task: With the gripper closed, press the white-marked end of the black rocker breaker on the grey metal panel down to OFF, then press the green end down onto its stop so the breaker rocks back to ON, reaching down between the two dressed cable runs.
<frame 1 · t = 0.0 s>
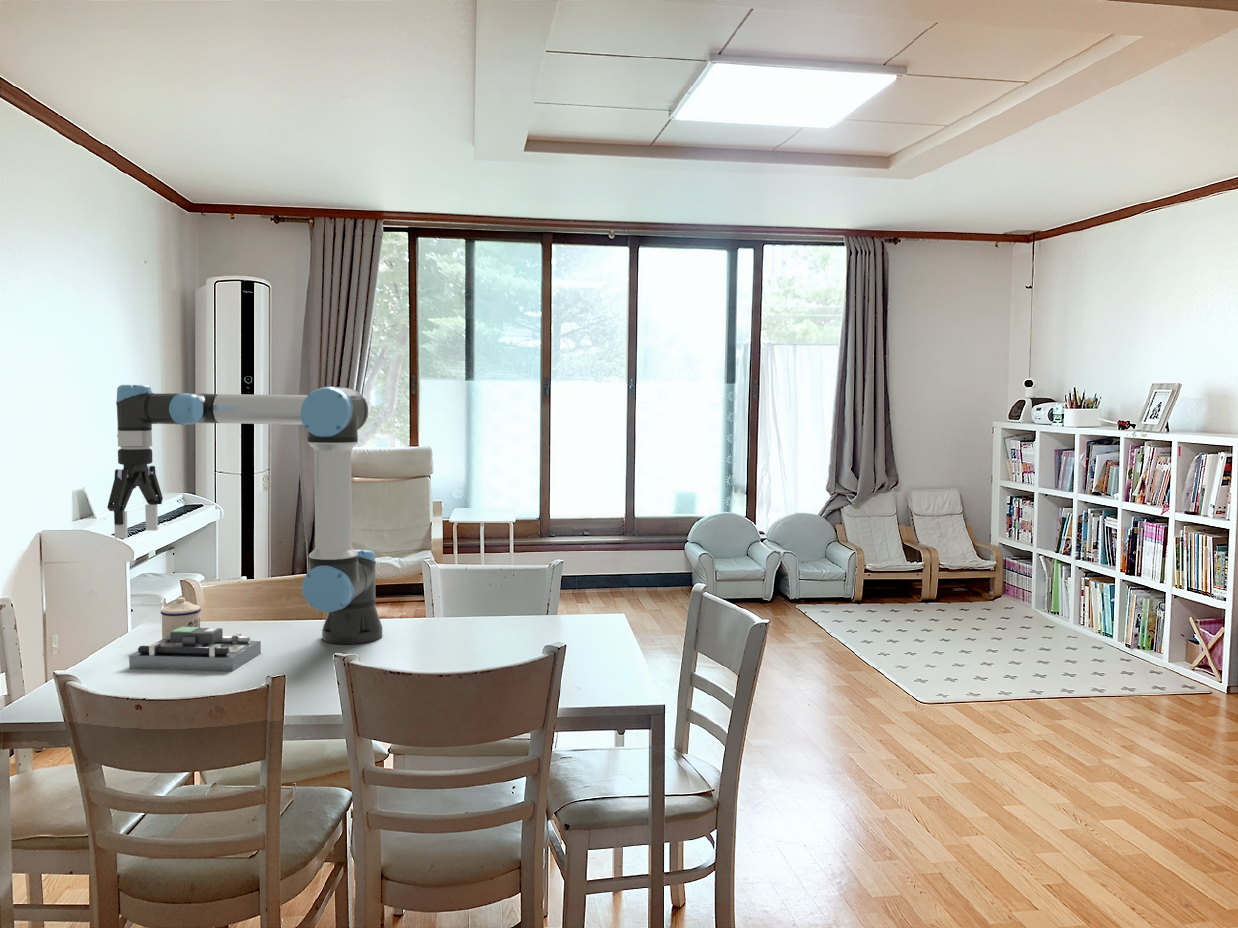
hand: (137, 534, 230), 28 cm above the table, fingers open, 13 cm apart
rocker: (196, 634, 219), point 6 cm above the table, hinge at 0.0°
panel: (197, 660, 220), on the table
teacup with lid: (184, 643, 236), on the table
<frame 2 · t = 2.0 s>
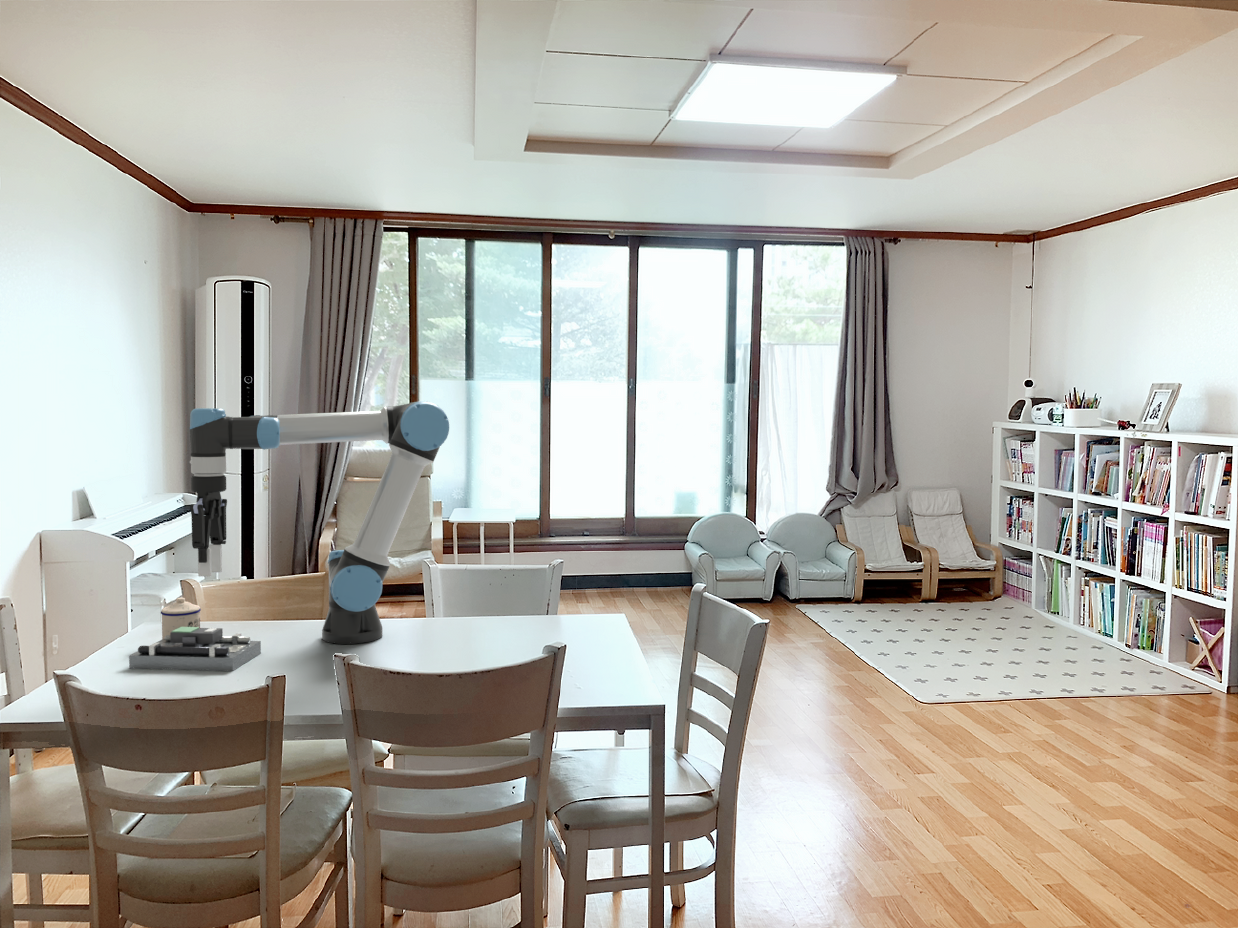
hand: (210, 573, 218), 21 cm above the table, fingers open, 4 cm apart
nothing on the table moved.
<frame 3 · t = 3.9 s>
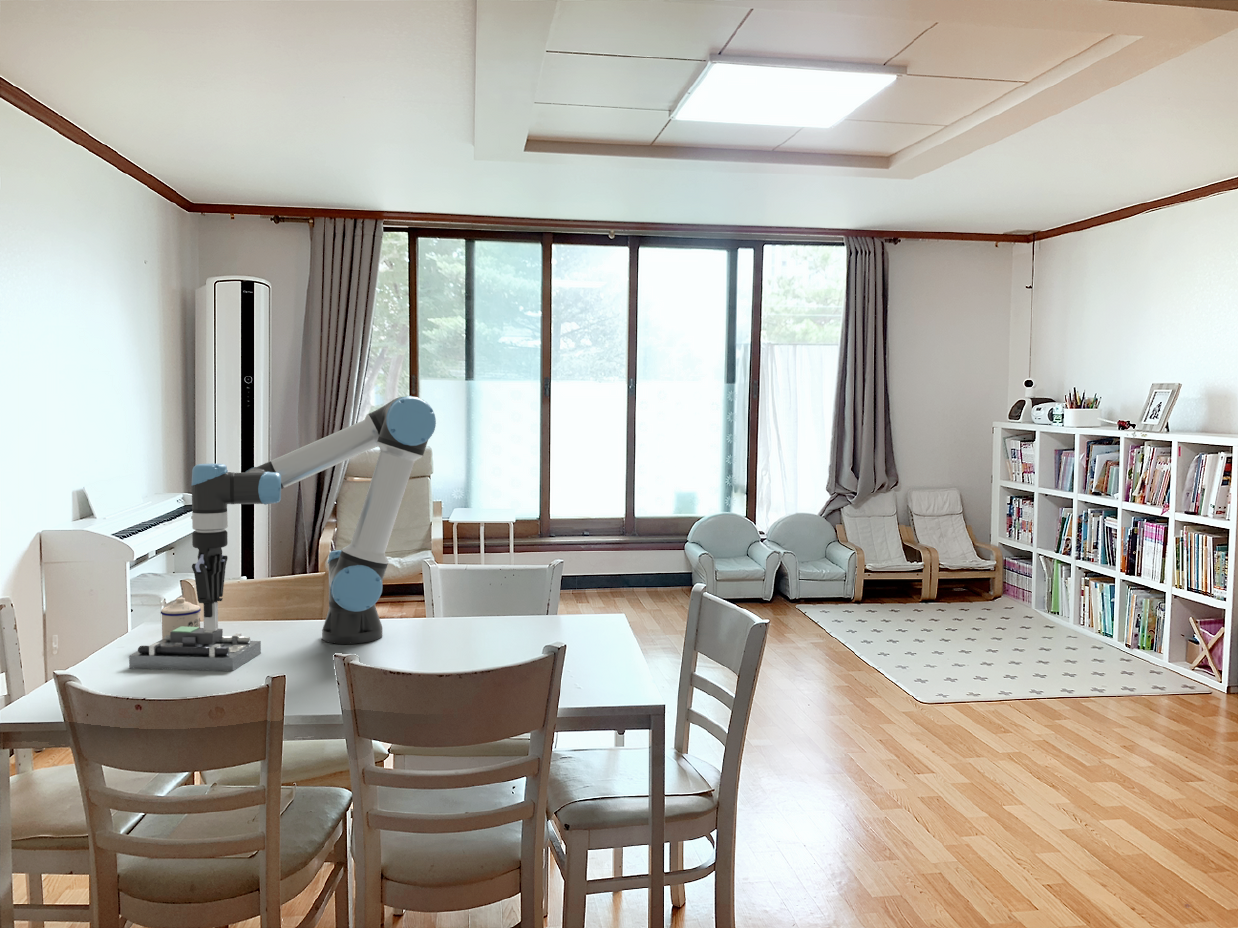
hand: (210, 629, 219), 7 cm above the table, fingers closed
rocker: (196, 634, 219), point 6 cm above the table, hinge at -1.1°, touching gripper
everything else where it was.
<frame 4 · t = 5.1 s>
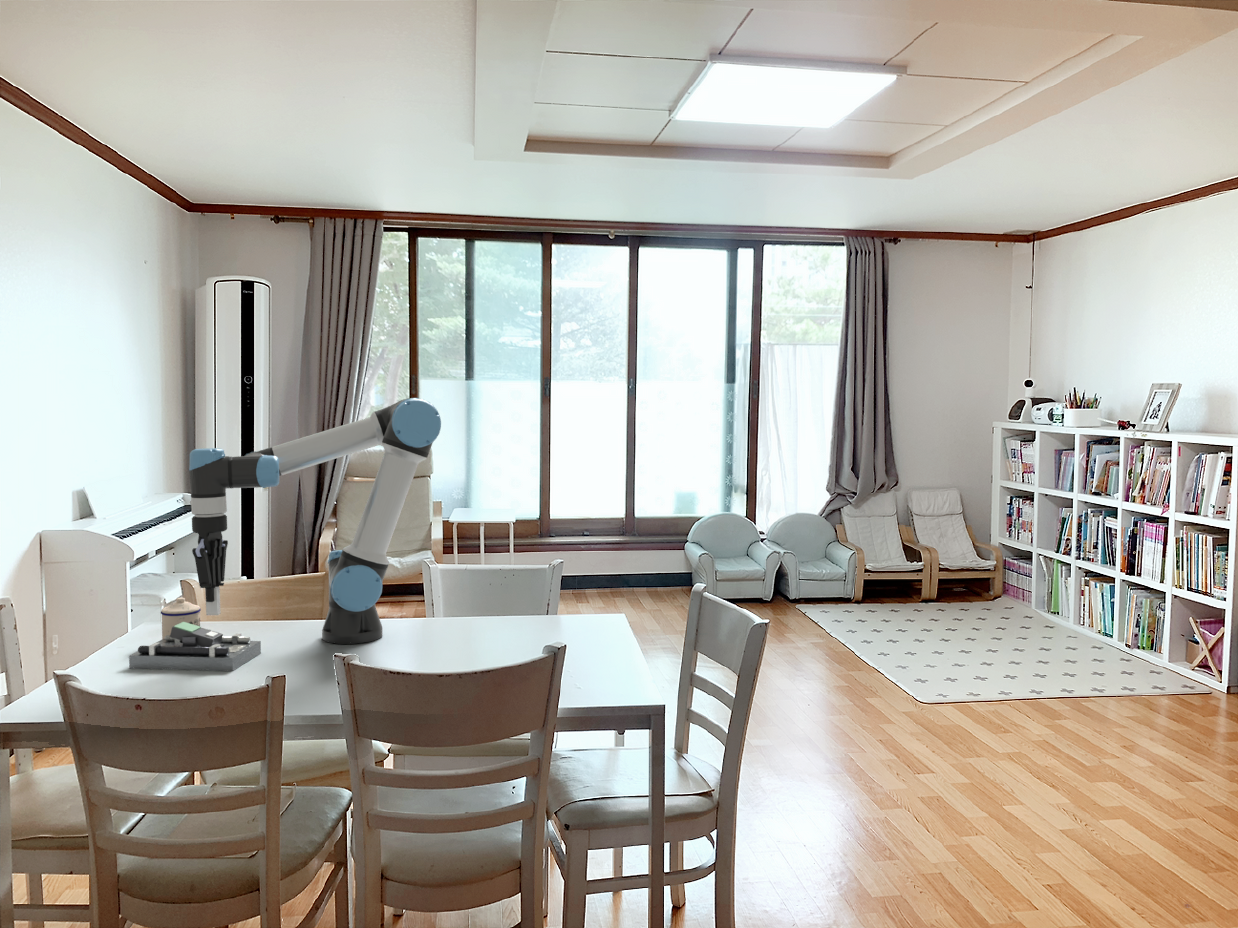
hand: (213, 614, 219), 11 cm above the table, fingers closed
rocker: (196, 634, 219), point 6 cm above the table, hinge at -15.5°, touching panel
everything else where it was.
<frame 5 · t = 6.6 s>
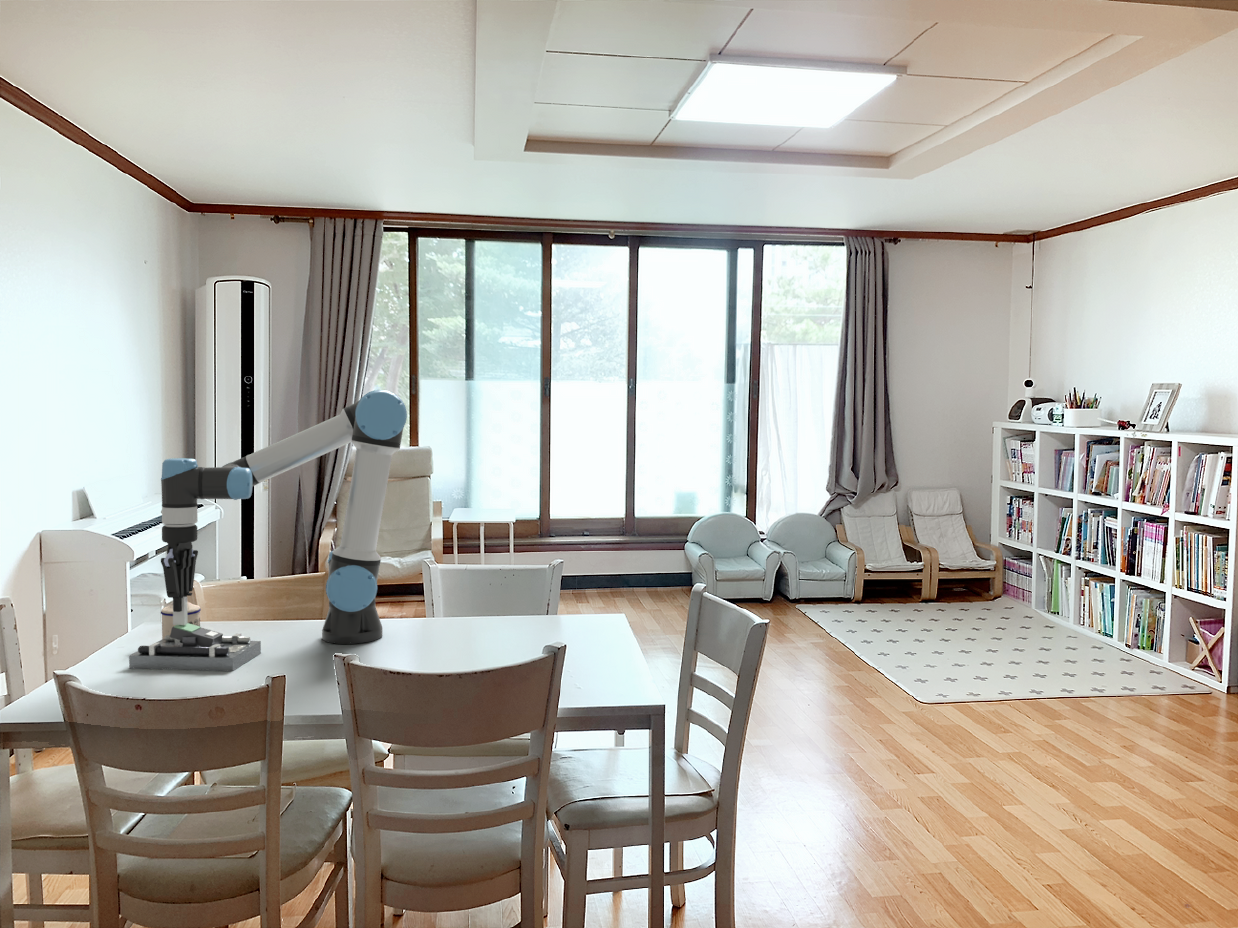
hand: (180, 624, 219), 9 cm above the table, fingers closed
rocker: (196, 634, 219), point 6 cm above the table, hinge at -14.7°, touching gripper
everything else where it was.
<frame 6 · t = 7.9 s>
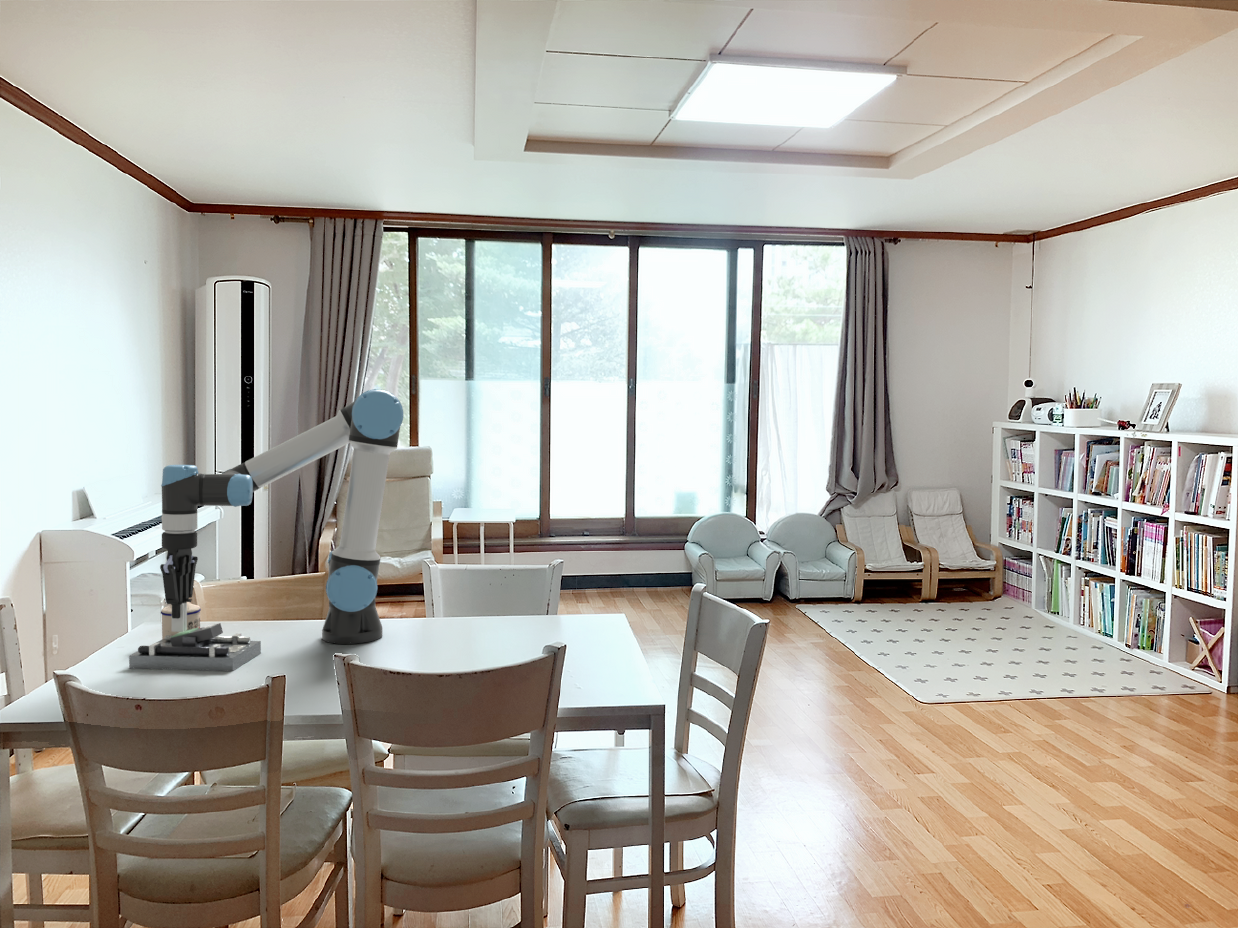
hand: (179, 630, 219), 7 cm above the table, fingers closed
rocker: (196, 634, 219), point 6 cm above the table, hinge at 15.0°, touching gripper, panel
everything else where it was.
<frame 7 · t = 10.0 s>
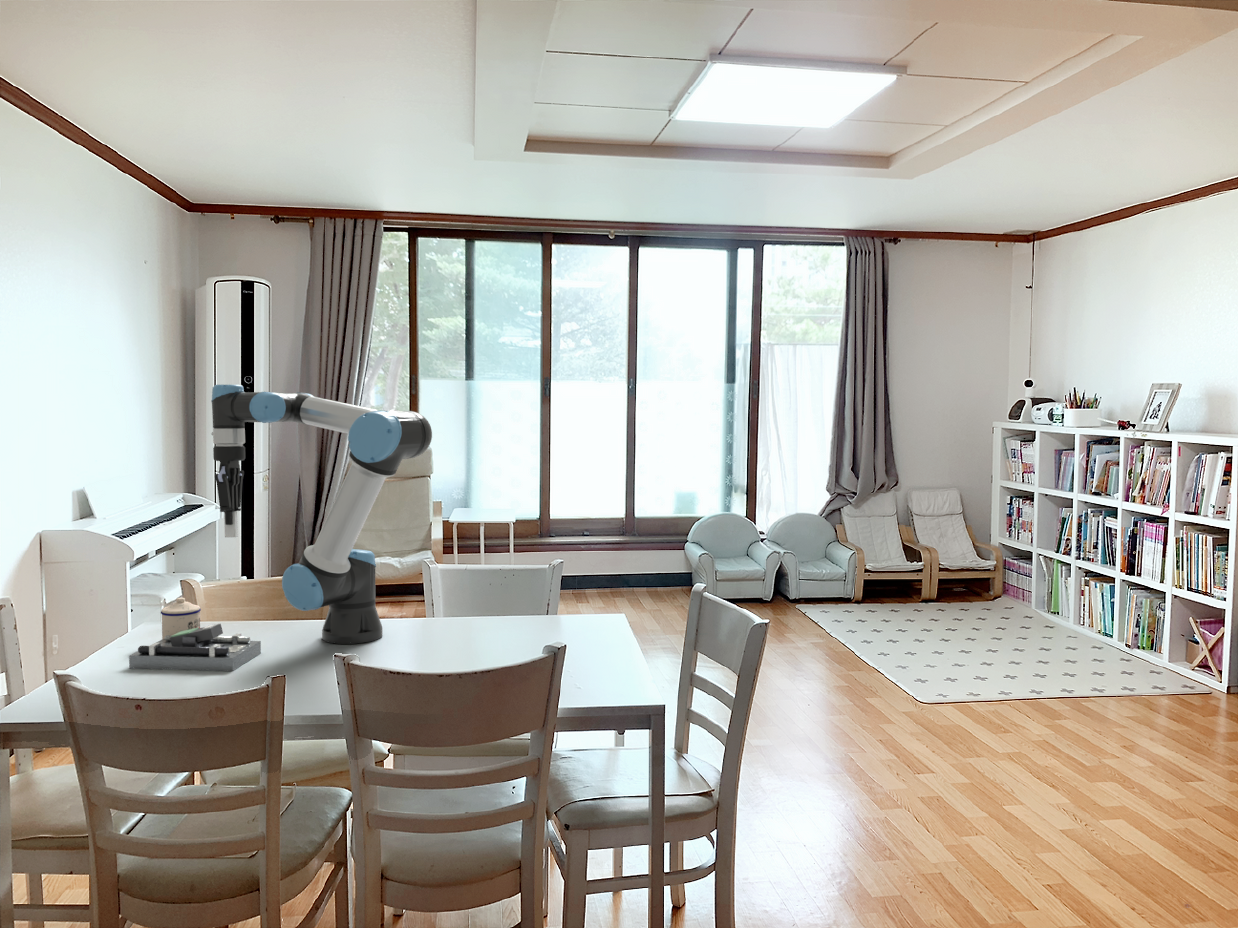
hand: (231, 536, 240), 26 cm above the table, fingers closed
rocker: (196, 634, 219), point 6 cm above the table, hinge at 13.7°
everything else where it was.
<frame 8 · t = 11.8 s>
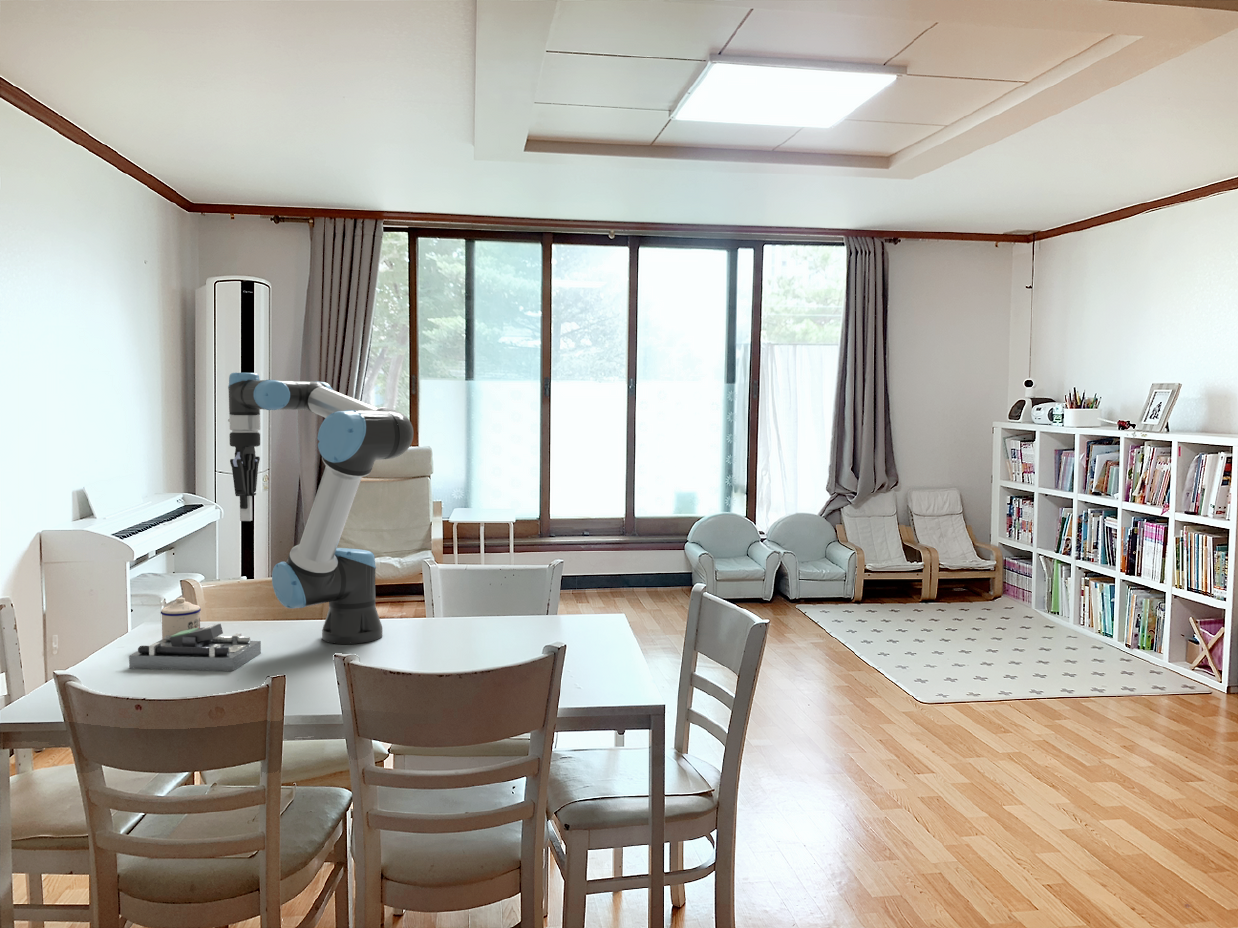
hand: (246, 520, 247), 29 cm above the table, fingers closed
nothing on the table moved.
at the end: rocker at +14° (first picture: +0°) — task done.
